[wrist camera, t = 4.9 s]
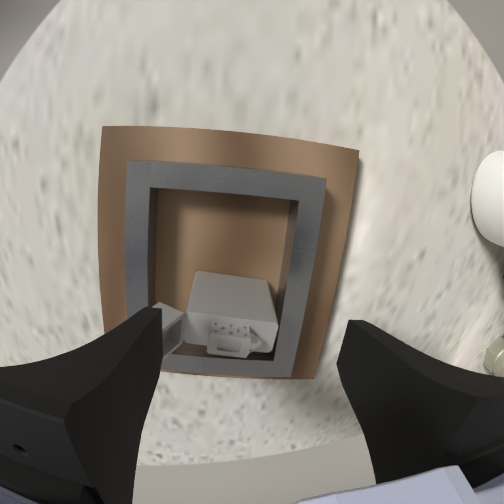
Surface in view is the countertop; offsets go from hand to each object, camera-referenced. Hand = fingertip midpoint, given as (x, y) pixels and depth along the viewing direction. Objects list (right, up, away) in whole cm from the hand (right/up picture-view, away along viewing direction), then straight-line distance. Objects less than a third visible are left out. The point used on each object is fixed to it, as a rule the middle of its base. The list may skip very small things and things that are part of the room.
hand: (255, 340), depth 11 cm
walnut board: (-2, +2, +7) cm, 8 cm away
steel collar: (-2, +2, +6) cm, 7 cm away
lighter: (-3, +1, +7) cm, 8 cm away
